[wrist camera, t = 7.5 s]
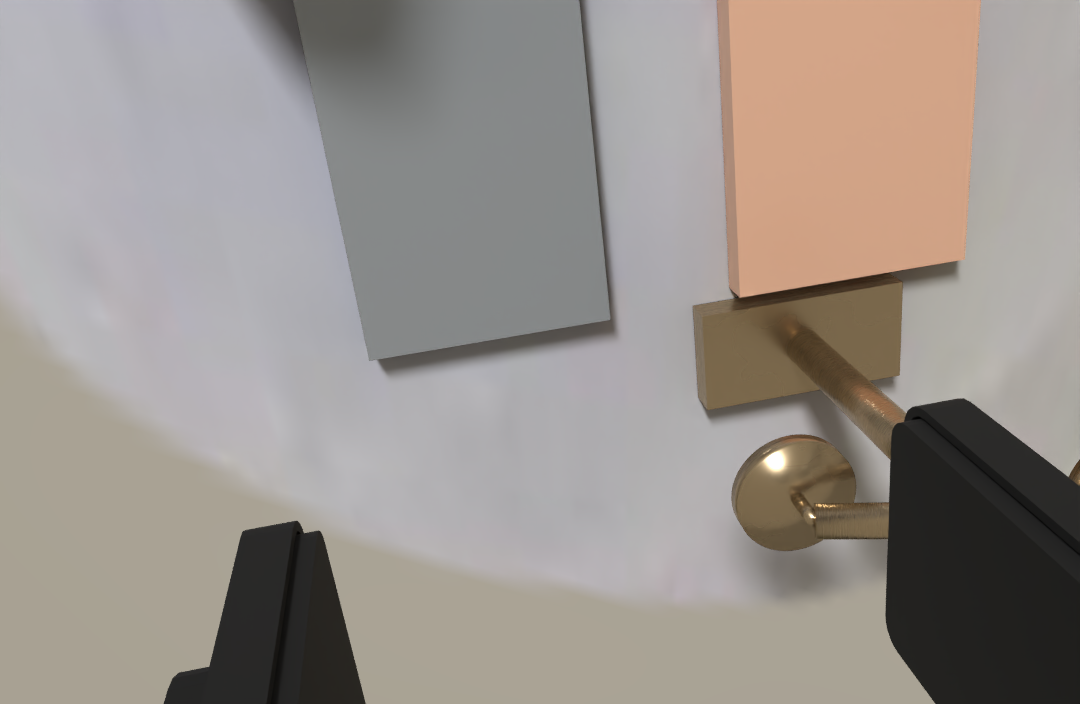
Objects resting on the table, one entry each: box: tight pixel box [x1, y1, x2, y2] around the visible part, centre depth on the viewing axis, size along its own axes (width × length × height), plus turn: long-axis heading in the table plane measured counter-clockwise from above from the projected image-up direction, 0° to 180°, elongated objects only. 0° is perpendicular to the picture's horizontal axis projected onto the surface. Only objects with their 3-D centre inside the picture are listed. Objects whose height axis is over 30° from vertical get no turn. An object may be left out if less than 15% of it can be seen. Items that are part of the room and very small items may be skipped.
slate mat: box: [293, 0, 611, 361], centre depth 33 cm, size 9×14×1 cm, turn 7°
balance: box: [693, 273, 1080, 551], centre depth 31 cm, size 12×4×16 cm, turn 97°
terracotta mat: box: [717, 0, 981, 298], centre depth 34 cm, size 9×14×1 cm, turn 7°
